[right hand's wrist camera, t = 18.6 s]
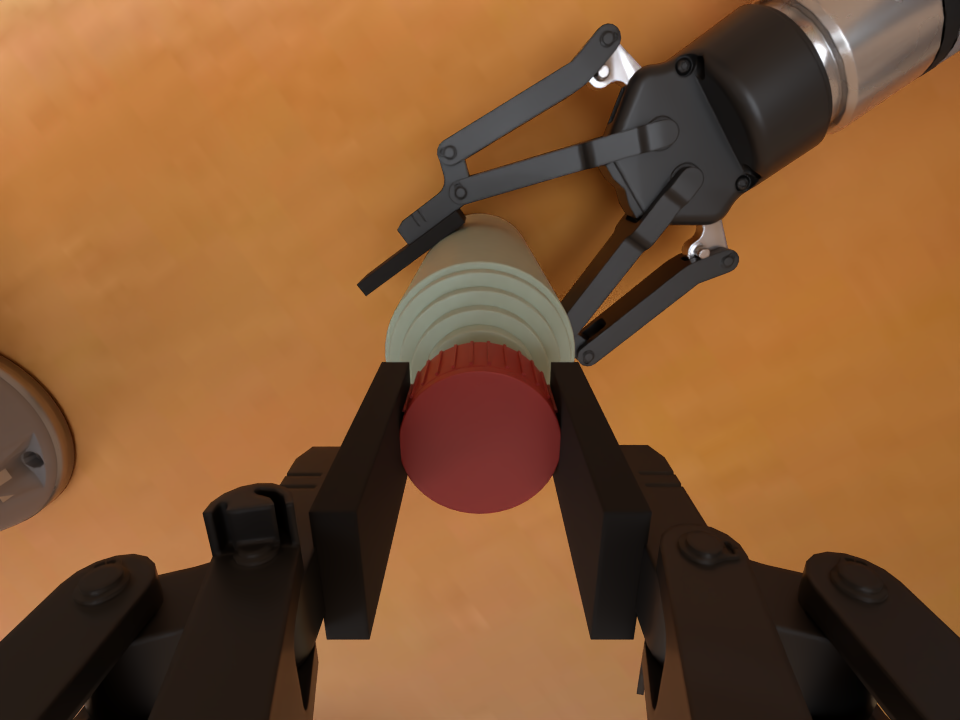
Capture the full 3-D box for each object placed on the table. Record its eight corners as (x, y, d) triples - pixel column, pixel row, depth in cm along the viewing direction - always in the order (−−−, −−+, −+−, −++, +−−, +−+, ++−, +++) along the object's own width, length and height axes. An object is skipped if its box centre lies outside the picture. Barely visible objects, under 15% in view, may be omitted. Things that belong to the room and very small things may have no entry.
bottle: (431, 314, 36) (358, 541, 14) (427, 213, 33) (333, 304, 12) (528, 314, 36) (601, 541, 14) (532, 213, 33) (627, 305, 12)
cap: (572, 361, 14) (588, 393, 12) (527, 483, 15) (534, 531, 13) (426, 321, 14) (417, 348, 12) (393, 451, 15) (380, 495, 13)
